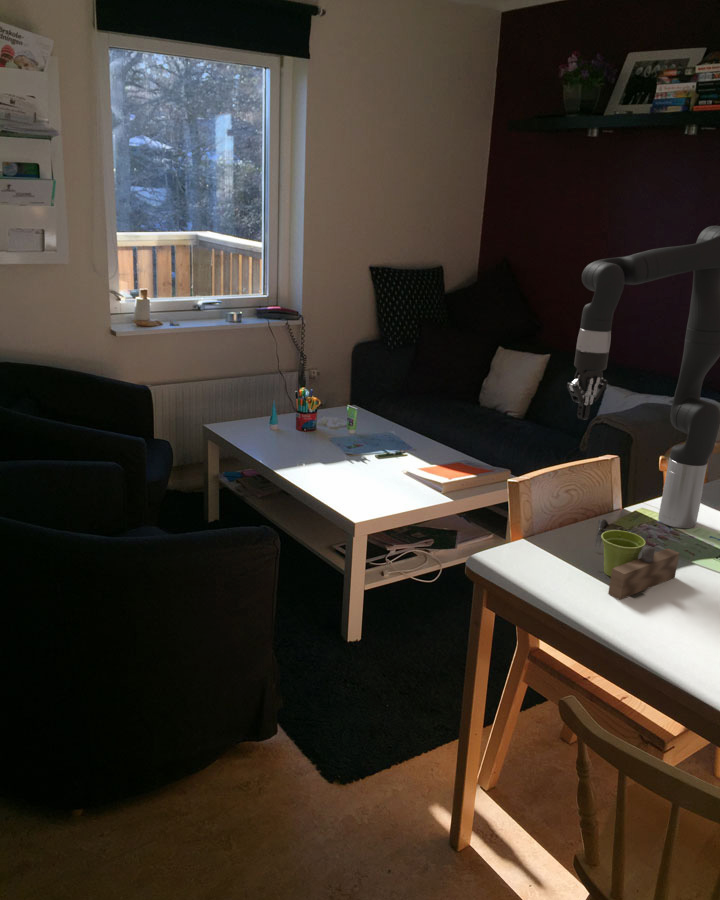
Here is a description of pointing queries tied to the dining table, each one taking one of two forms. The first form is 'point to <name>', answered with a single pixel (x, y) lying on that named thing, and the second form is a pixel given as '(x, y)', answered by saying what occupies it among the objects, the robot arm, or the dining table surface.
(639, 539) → the plant pot
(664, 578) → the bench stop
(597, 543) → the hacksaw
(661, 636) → the dining table surface
